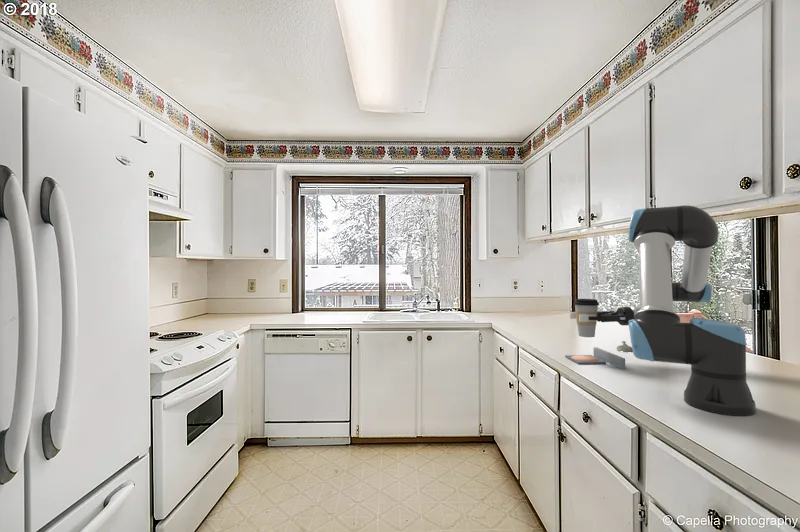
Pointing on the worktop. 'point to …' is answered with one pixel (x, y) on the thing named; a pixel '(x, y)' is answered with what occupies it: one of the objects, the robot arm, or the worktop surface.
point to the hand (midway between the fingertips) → (574, 316)
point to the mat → (585, 359)
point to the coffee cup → (581, 309)
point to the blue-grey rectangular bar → (609, 358)
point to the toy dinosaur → (624, 347)
